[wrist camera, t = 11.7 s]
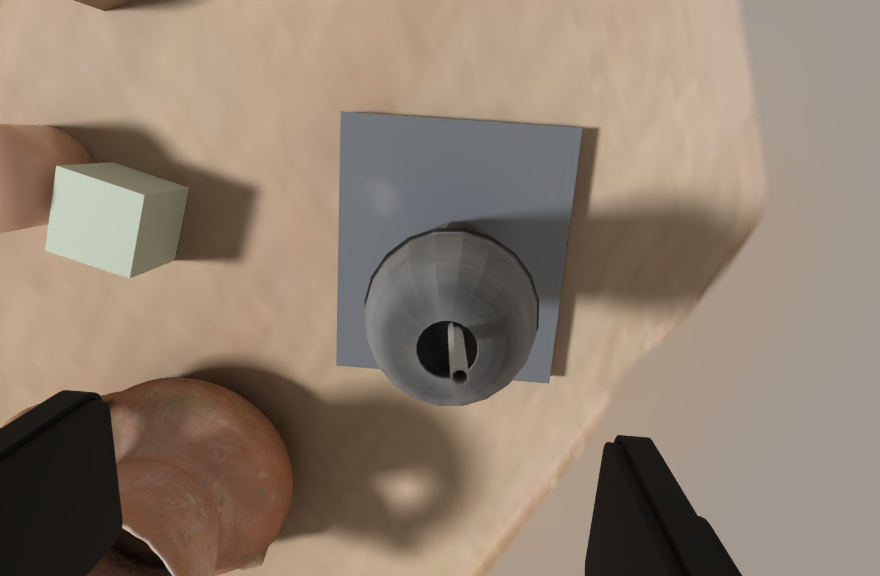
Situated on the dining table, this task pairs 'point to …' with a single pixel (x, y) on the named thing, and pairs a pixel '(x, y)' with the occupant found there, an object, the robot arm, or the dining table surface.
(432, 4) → the dining table surface
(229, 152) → the dining table surface
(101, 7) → the walnut block
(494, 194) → the slate board
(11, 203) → the peach rounded capsule
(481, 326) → the beverage cup
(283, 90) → the dining table surface
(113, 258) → the sage block
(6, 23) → the dining table surface
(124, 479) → the ceramic jug
